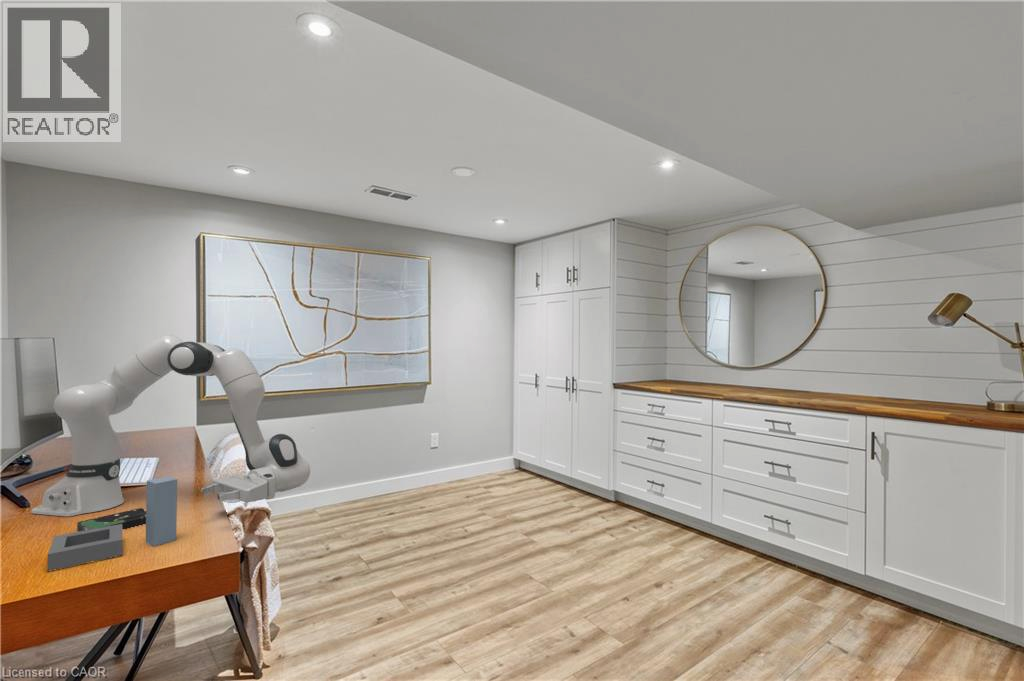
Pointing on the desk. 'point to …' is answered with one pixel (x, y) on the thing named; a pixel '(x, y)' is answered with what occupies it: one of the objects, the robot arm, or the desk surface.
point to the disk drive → (115, 520)
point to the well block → (85, 547)
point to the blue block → (161, 510)
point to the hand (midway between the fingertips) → (210, 494)
